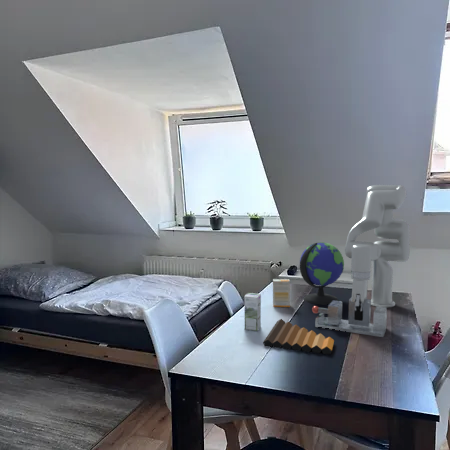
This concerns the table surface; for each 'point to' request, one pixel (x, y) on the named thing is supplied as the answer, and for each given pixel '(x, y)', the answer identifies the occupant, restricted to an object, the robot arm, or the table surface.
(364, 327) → the vise bed
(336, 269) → the globe
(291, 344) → the pan flute
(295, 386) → the table surface
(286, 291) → the supplement box
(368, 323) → the steel block
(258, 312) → the syrup box
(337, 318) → the free jaw
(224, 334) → the table surface
